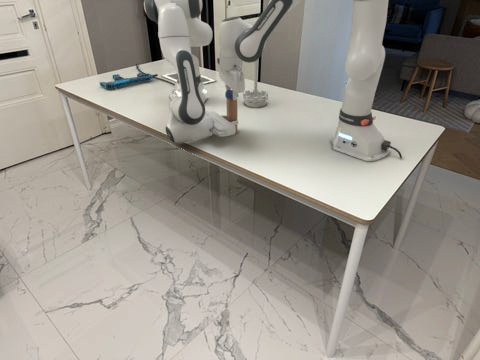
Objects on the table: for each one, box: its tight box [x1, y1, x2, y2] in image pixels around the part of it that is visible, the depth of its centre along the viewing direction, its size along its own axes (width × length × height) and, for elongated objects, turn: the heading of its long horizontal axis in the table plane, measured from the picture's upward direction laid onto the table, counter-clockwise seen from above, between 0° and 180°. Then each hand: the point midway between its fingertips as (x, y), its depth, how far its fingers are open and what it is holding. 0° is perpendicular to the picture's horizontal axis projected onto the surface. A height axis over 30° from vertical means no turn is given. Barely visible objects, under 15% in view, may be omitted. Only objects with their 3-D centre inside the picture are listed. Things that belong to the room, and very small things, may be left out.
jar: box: [225, 97, 239, 135], centre depth 144 cm, size 5×5×17 cm
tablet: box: [161, 71, 217, 85], centre depth 215 cm, size 32×20×1 cm, turn 41°
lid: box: [224, 89, 239, 99], centre depth 140 cm, size 5×5×2 cm
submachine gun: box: [99, 72, 159, 90], centre depth 210 cm, size 34×4×25 cm
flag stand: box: [242, 59, 269, 108], centre depth 170 cm, size 13×13×30 cm
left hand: (233, 119), depth 146 cm, fingers closed on jar, 4 cm apart
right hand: (231, 96), depth 140 cm, fingers closed on lid, 5 cm apart
